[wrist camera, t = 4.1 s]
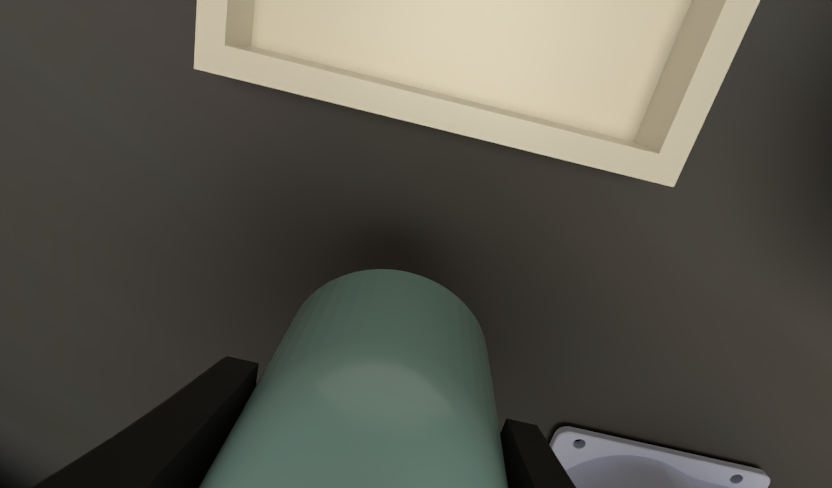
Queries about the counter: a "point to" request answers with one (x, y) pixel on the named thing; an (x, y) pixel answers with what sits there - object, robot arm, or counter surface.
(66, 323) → the counter surface
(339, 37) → the cream tray
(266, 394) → the pale teal cylinder
